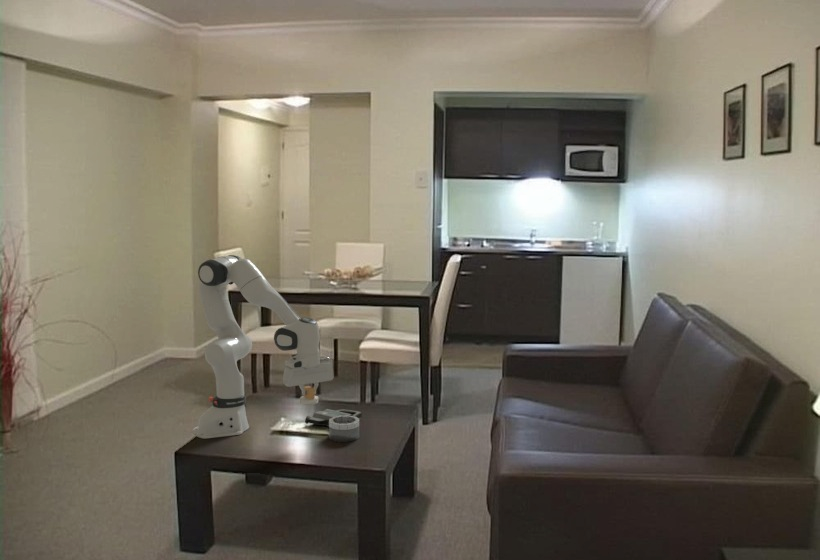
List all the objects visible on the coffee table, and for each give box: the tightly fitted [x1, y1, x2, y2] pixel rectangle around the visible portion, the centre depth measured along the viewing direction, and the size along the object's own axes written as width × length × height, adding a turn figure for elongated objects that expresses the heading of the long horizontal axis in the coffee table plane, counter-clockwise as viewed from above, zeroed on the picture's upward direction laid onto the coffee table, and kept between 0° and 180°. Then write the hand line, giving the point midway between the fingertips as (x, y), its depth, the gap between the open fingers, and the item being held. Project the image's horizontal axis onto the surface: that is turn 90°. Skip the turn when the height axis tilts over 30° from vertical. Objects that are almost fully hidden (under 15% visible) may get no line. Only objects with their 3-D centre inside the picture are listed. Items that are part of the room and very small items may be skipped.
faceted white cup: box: [328, 415, 360, 443], centre depth 302 cm, size 12×12×7 cm
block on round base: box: [299, 385, 319, 406], centre depth 295 cm, size 7×7×6 cm
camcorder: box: [304, 408, 363, 427], centre depth 319 cm, size 16×20×5 cm
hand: (309, 394), depth 295 cm, fingers closed on block on round base, 2 cm apart
